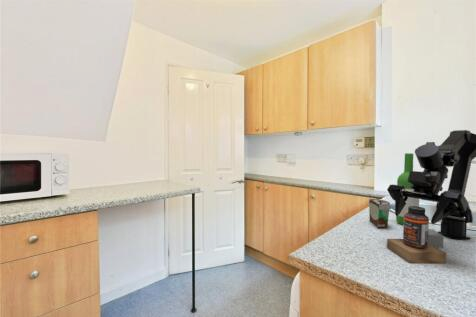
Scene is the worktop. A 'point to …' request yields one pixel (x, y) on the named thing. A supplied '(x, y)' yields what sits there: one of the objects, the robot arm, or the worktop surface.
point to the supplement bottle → (416, 227)
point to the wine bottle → (406, 187)
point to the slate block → (435, 238)
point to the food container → (379, 212)
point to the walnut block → (416, 252)
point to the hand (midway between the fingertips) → (413, 219)
